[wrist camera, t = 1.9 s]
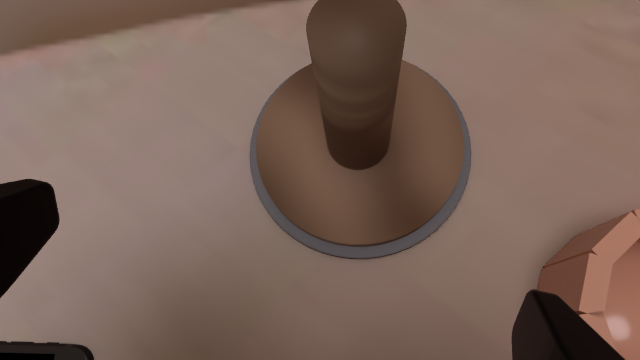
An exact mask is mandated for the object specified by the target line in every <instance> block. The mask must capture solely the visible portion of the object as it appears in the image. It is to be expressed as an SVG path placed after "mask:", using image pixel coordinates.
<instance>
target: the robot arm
mask: <svg viewBox="0 0 640 360" xmlns="http://www.w3.org/2000/svg"><path fill="white" fill-rule="evenodd" d="M58 225H59V213H58V208H57V203H56V198H55V193H54V189H53V187H52V186H51V185H50V184H49V183H47V182H43V181H39V180H34V179H24V180H19V181H14V182H8V183H3V184H0V298H1V297H2V296H3V295H4V293H5V292H6V291H7V290H8V289H9V288H10V287H11V285H12V284H13V283H14V282H15V281H16V279H17V278H18V277H19V276H20V275H21V273H22V272H23V271H24V270H25V268H26V267H27V266H28V265H29V263H30V262H31V261H32V260H33V258H34V257H35V256H36V255H37V254H38V252H39V251H40V250H41V249H42V247H43V246H44V245H45V244H46V242H47V241H48V240H49V239H50V238H51V236H52V235H53V234H54V233H55V231H56V230H57V228H58ZM512 359H513V360H625V359H624V358H623V357H622V356H621V355H620V354H619V353H618V352H617V351H616V350H615V349H614V348H613V347H612V346H611V345H610V344H609V343H608V342H606V341H605V340H604V339H603V338H602V337H601V336H600V335H599V334H598V333H597V332H596V331H595V330H594V329H593V328H592V327H591V326H590V325H589V324H588V323H587V322H585V321H584V320H583V319H582V318H581V317H580V316H579V315H578V314H577V313H576V312H575V311H574V310H573V309H572V308H571V307H570V306H569V305H568V304H567V303H566V302H564V301H563V300H562V299H561V298H560V297H559V296H558V295H556V294H553V293H549V292H544V291H539V290H535V289H533V290H530V291H529V292H528V293H527V294H526V296H525V299H524V301H523V304H522V306H521V308H520V311H519V313H518V316H517V318H516V321H515V323H514V326H513V330H512Z"/></svg>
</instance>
